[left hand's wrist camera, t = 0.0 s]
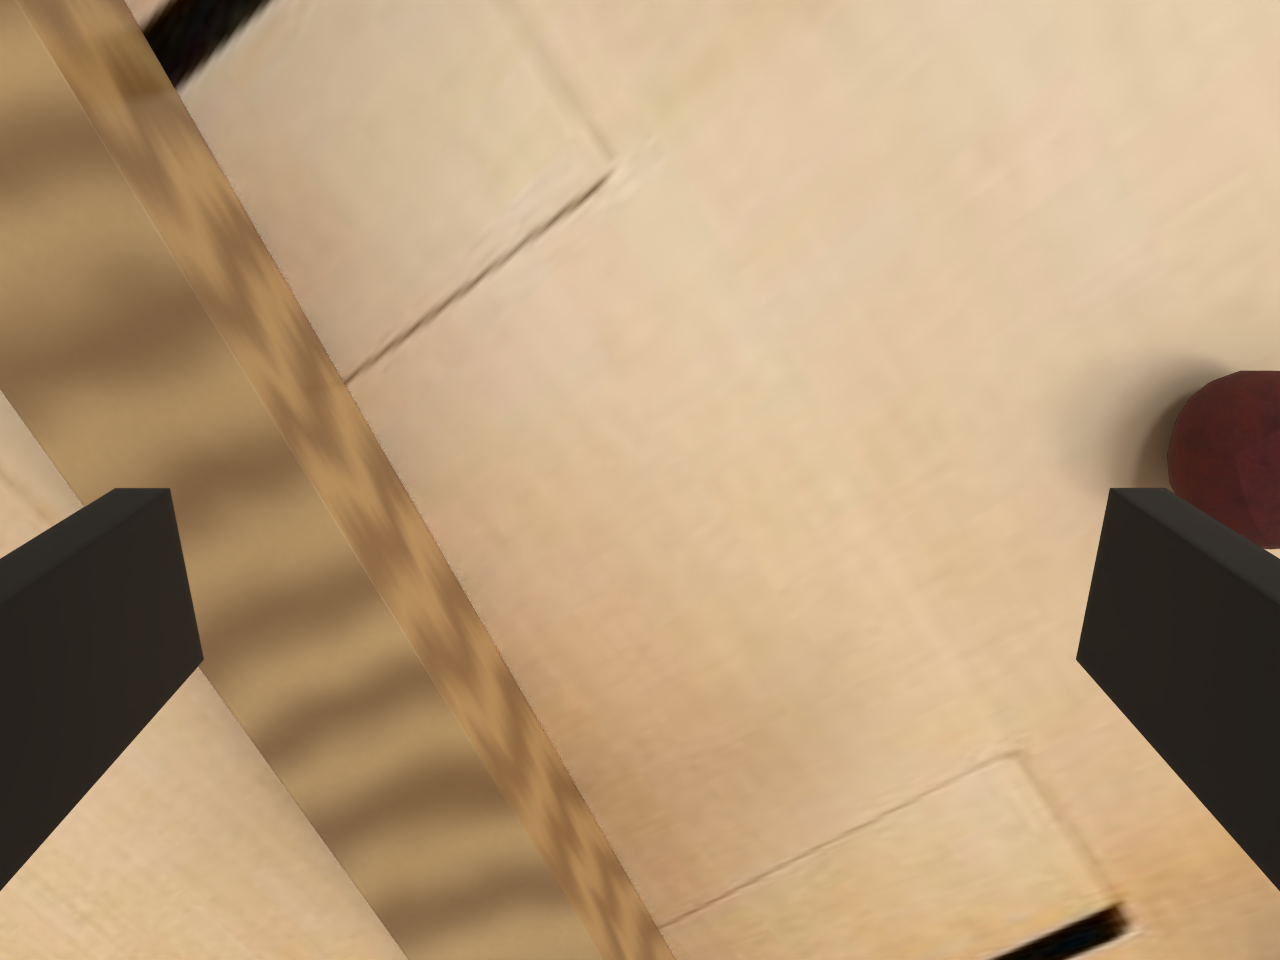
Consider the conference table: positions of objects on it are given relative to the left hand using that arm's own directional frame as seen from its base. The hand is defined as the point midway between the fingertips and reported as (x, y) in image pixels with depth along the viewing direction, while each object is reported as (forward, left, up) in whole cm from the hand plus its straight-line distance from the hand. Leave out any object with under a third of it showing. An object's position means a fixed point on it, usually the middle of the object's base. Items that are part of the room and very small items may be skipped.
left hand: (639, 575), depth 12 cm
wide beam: (+11, -15, -28) cm, 34 cm away
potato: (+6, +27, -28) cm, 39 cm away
